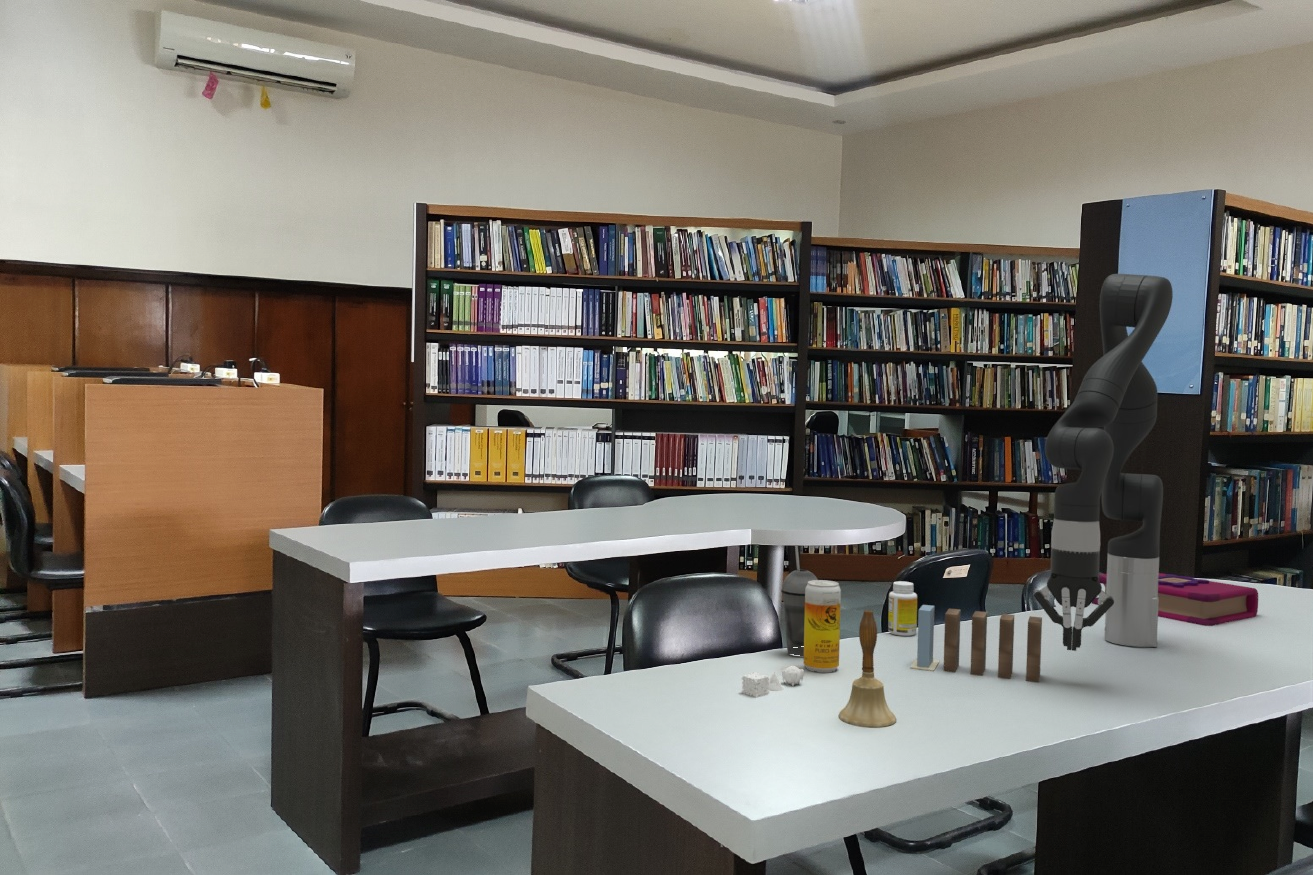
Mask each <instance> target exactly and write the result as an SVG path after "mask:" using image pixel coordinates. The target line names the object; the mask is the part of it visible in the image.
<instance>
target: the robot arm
mask: <svg viewBox="0 0 1313 875" xmlns="http://www.w3.org/2000/svg"><path fill="white" fill-rule="evenodd" d="M1172 286H1173V285H1172V283H1171V281H1170V280H1169V279H1168V278H1166V277H1164V276H1157V275H1146V274H1131V273H1113V274H1110V275H1108V276H1107V277H1106V278H1105V279H1104V281H1103V283H1102V285H1101V290H1100V293H1099V319H1100V321H1099V322H1100V332H1101V343H1102V353H1103V354H1102V355H1103V356H1101V357H1100V358H1099V359H1098V360H1097V361H1096V362H1094V363H1093V364H1092V365H1091V366H1090V368H1089V369H1088V370H1087V372H1086V373H1085V375H1084V376H1083V379H1082V382H1081V384H1080V386H1079V389H1078V391H1077V394H1076V396H1075V398H1074V401H1073V403H1072V404H1071V405H1070V406H1069V407H1068V408H1067V409H1066V410H1065V412H1064V413H1063V414H1062V415H1061V417H1060V418H1059V419H1058V420H1057V421H1056V422H1055V424H1054V425H1053V426H1052V428H1051V429H1050V431H1049V433H1048V434H1047V436H1046V440H1045V444H1044V453H1045V458H1046V461H1047V462H1049V465H1051V466H1053V467H1055V468H1059V469H1065V470H1077V471H1078V470H1079V471H1080V470H1081V473H1080V476H1079V477H1078V478H1077V481H1075V482H1069V483H1063V484H1060V485H1058V486H1057V487H1056V489H1055V491H1054V499H1053V500H1054V507H1053V514H1054V515H1053V521H1052V522H1053V524H1052V529H1051V539H1050V541H1051V542H1050V571H1049V572H1050V573H1049V574H1050V575H1049V578H1048V579H1047V582H1046V585H1045V586H1044V587H1042V588H1041V589H1036V590H1035V592H1034V595H1033V596H1034V599H1035V600H1036V601H1037V602H1038V604H1039V606H1041V608H1042V609H1043V610H1044V612H1045V613H1046V615H1047V616H1048V618H1049V619H1050V620H1051V621H1052V622H1053V623H1054V624H1057V625H1060V626H1061V627H1062V644H1063V645H1062V646H1063V647H1066V650H1067V651H1074V652H1077V648H1079V649H1080V648H1081V646H1082V630H1084V628H1085V627H1090V628H1091V627H1093V626H1094V625H1095V623H1096V624H1097V622H1098V621H1099V620H1100V619H1101V618H1102V617H1103V616H1105V620H1104V621H1105V622H1104V625H1105V626H1104V640H1106V641H1107V642H1109V643H1113V644H1116V645H1122V646H1127V647H1136V648H1138V647H1140V648H1141V647H1142V648H1145V647H1148V648H1149V647H1154V648H1157V647H1158V628H1159V627H1158V623H1159V617H1158V601H1159V599H1158V576H1159V573H1160V572H1159V571H1160V570H1159V568H1160V536H1161V524H1162V523H1161V522H1162V513H1163V512H1162V510H1163V501H1164V486H1163V485H1164V484H1163V481H1162V479H1161V477H1160V476H1159V475H1156V474H1147V473H1146V474H1145V473H1144V474H1143V473H1127V472H1126V473H1124V472H1122V470H1123V467H1124V465H1125V463H1126V461H1127V460H1128V459H1129V457H1130V455H1132V453H1133V451H1134V450H1135V449H1136V448H1137V447H1138V446H1139V445H1140V444H1141V442H1143V441H1144V439H1145V438H1146V437H1147V436H1148V435H1149V433H1150V432H1151V431H1152V429H1153V427H1154V426H1155V425H1156V422H1157V417H1158V387H1157V384H1156V382H1155V380H1154V378H1153V376H1152V373H1150V371H1149V370H1148V368H1147V367H1146V366H1145V364H1144V362H1143V360H1144V358H1145V357H1146V355H1147V353H1148V352H1149V350H1150V349H1151V347H1152V346H1153V344H1154V342H1155V341H1156V339H1157V338H1158V335H1159V334H1160V332H1161V331H1162V328H1164V326H1165V323H1166V322H1167V318H1168V317H1169V314H1170V311H1171V308H1172V303H1173V293H1174V292H1173V287H1172ZM1127 328H1134V329H1132V331H1131V332H1130V333H1129V334H1128V329H1127ZM1100 501H1101V502H1100ZM1100 505H1101V506H1100ZM1100 508H1102V512H1103V515H1104V516H1106V517H1107V518H1108V519H1111V520H1117V521H1119V520H1120V521H1132V522H1133V521H1134V522H1142V526H1140V528H1138V529H1137V530H1135V531H1133V532H1131V533H1127V534H1125V535H1124V534H1123V535H1120V536H1117V537H1116V536H1115V537H1112V538H1111V539H1109V540H1108V542H1107V559H1106V560H1107V562H1106V574H1107V586H1106V593H1105V590H1104V591H1103V587H1102V584H1101V583H1100V582H1099V575H1100V555H1101V553H1100V552H1101V543H1102V542H1101V530H1100V529H1101V528H1100V527H1101V526H1100V513H1101V512H1100V510H1101V509H1100ZM1050 593H1051V595H1052V596H1053V598H1054V599H1055V600H1056V602H1057V603H1058V604H1059V605H1060V606H1061V607H1062V615H1060V614H1059V612H1058V611H1057V610H1056V608H1055V607H1054V605H1053V604H1052V603H1051V602H1050V599H1051V596H1050ZM1098 597H1099V599H1098V604H1099V605H1097V606H1096V608H1095V609H1094V610H1093V611H1092V612H1091V613H1089V615H1087V617H1084V615H1085V614H1084V613H1085V608H1088V607H1089V606H1090V605H1091V604H1092V602H1093V600H1094V599H1095V598H1098ZM1072 608H1075V615H1074V622H1073V625H1072Z"/></svg>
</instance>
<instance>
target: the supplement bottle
mask: <svg viewBox="0 0 1313 875" xmlns="http://www.w3.org/2000/svg"><path fill="white" fill-rule="evenodd" d="M892 585H893V586H892V591H889V593H888V617H887V618H888V620H887V621H888V624H887V625H888V626H887V627H888V628H887V630H888V632H889V633H890V634H891V635H893V636H902V637H910V636H915V635H916V633H917V631H918V625H917V624H918V619H917V618H918V594H917V593H916V592H914V589H915V588H914V583H913V582H909V581H904V580H903V581H901V580H899V581H894V582H893V583H892Z"/></svg>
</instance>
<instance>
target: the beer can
mask: <svg viewBox="0 0 1313 875" xmlns="http://www.w3.org/2000/svg"><path fill="white" fill-rule="evenodd" d="M839 584H840V583H839V582H838V581H837V582H836V581H833V580H827V579H826V580H825V579H824V580H823V579H818V580H813V581H809V582H808V584H807V586H806V588H805V623H804V657H803V664H804V666H805V668H806V669H807V670H808V671H810V672H814V671H817V672H816V673H832V671H833V672H835V671H836V670H837V668H838V667H839V666H840V636H841V601H842V599H841V598H842V590H841V587H840V585H839Z"/></svg>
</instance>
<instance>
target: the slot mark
mask: <svg viewBox="0 0 1313 875" xmlns="http://www.w3.org/2000/svg"><path fill="white" fill-rule="evenodd" d="M939 663H940V660H938V659H933V662H932V663H931V665H930V667H929V668H926V667H917V657H916V658H915V660H914V661H913V663H912V664H911V665H910V669H915V670H922V671H923V670H924V671H929V672H934V671H935V669H936V668H937V667H938V665H939Z"/></svg>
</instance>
